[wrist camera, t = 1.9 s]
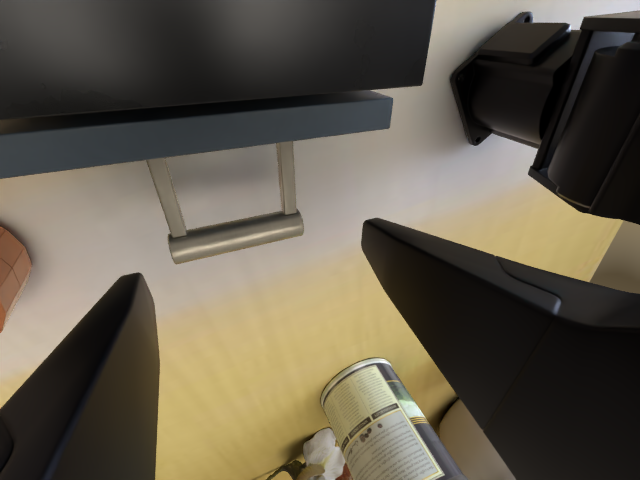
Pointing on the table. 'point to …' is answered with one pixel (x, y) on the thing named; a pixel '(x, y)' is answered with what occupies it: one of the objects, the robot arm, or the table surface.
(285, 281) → the table surface
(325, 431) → the artificial flower
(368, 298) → the table surface
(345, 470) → the bread roll
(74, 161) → the drawer
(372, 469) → the coffee can
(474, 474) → the chamber pot
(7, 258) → the flower pot
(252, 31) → the black drawer cabinet
